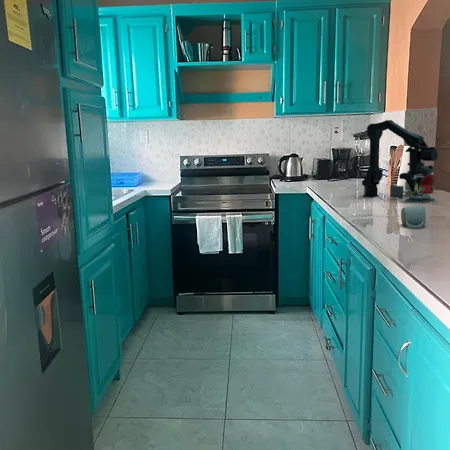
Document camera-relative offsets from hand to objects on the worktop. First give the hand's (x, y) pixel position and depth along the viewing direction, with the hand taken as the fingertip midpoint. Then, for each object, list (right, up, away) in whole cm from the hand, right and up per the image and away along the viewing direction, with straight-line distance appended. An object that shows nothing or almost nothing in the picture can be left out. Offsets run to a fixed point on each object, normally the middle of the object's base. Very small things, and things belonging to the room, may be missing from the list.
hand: (415, 191), depth 236 cm
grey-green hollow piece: (+4, -2, +14) cm, 15 cm away
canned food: (+16, +1, +25) cm, 30 cm away
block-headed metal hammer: (-1, -1, +11) cm, 11 cm away
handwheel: (+2, -4, -2) cm, 4 cm away
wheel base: (+2, -5, -2) cm, 5 cm away
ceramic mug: (-25, -18, -60) cm, 67 cm away
